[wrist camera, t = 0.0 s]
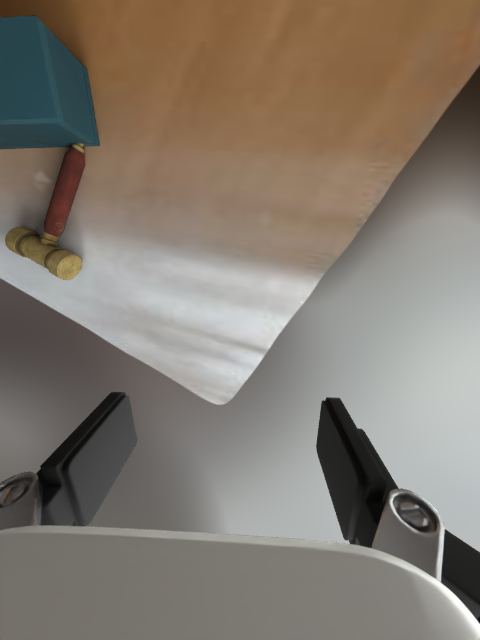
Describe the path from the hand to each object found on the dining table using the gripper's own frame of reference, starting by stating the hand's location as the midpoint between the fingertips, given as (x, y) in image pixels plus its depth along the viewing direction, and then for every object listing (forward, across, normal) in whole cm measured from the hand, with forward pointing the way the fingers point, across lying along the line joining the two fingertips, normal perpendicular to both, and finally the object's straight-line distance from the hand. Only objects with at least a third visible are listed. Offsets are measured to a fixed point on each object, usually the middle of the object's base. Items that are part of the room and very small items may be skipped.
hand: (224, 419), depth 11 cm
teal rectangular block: (+31, +31, -27) cm, 52 cm away
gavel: (+32, +29, -14) cm, 45 cm away
